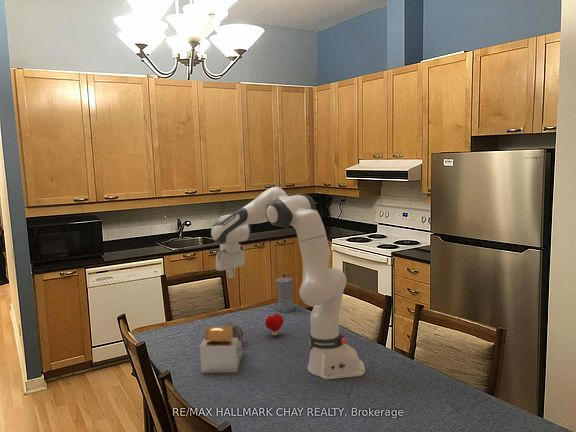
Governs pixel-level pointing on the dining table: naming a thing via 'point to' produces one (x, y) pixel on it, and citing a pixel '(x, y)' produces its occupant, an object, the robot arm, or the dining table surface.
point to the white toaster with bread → (220, 350)
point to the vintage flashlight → (235, 330)
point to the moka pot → (285, 293)
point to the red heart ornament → (274, 323)
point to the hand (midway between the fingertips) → (231, 277)
